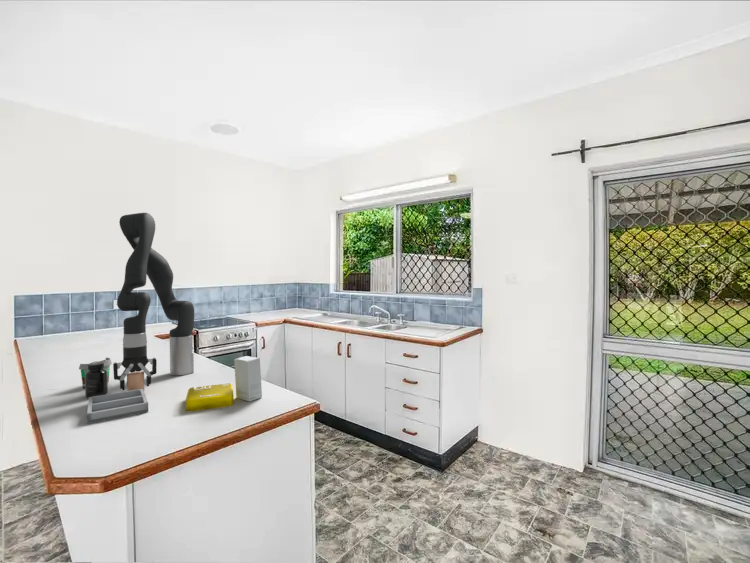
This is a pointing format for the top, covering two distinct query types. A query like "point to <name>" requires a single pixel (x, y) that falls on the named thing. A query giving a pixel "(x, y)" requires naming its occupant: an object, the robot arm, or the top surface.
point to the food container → (85, 369)
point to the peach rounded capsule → (135, 380)
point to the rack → (116, 405)
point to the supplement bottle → (96, 380)
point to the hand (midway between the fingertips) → (135, 387)
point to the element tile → (209, 397)
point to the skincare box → (248, 378)
